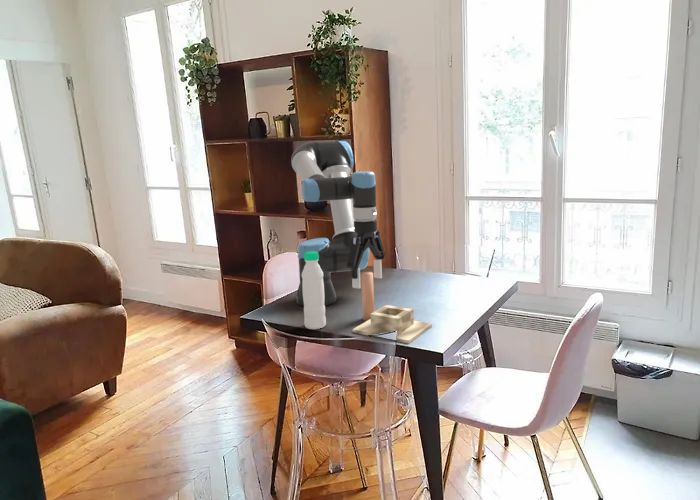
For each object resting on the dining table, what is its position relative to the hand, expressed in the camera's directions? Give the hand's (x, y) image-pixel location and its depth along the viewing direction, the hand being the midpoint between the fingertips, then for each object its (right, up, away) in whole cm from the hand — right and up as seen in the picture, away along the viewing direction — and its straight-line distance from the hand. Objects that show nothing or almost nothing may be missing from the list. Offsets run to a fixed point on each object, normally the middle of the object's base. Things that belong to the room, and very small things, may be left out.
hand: (367, 282), depth 182 cm
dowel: (0, -12, +3) cm, 13 cm away
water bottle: (-17, -14, -2) cm, 23 cm away
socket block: (+8, -14, -7) cm, 18 cm away
